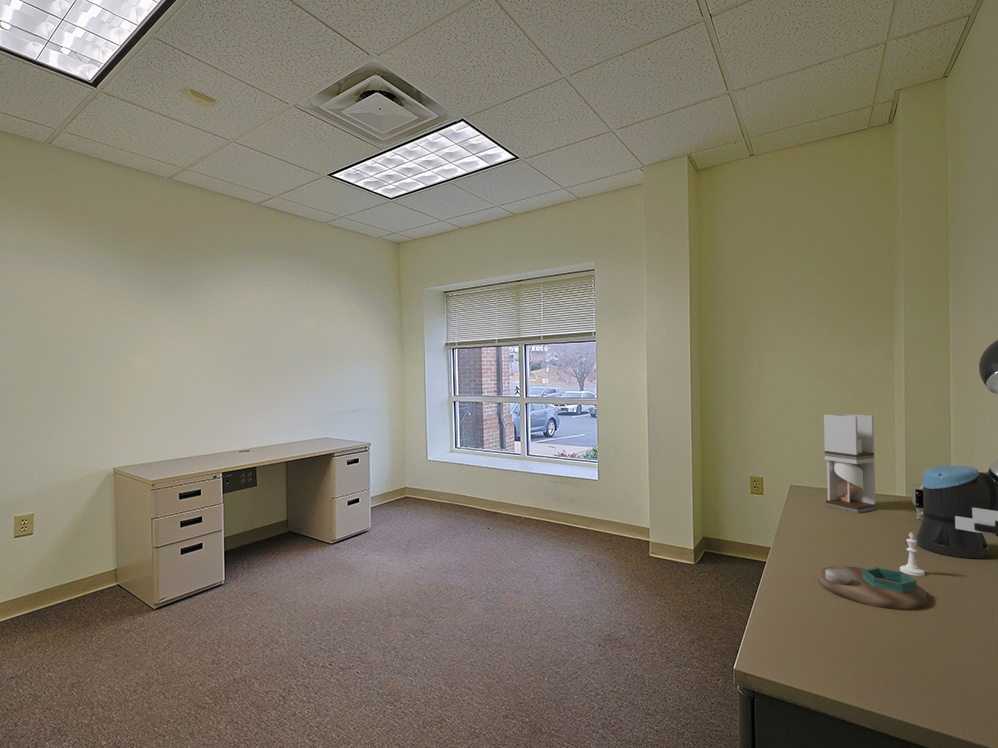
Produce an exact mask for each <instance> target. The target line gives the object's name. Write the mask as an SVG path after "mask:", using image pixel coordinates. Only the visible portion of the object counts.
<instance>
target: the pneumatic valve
mask: <svg viewBox="0 0 998 748" xmlns="http://www.w3.org/2000/svg"><path fill="white" fill-rule="evenodd" d="M911 502H912V503H913V505H914V507H915V510H916V515H915V517H916V519H917V520H918V519H920V520H922V521H923V519H924V505H923V486H922V483H921V484H919V485H918V484H911ZM920 520H919V521H920Z"/></svg>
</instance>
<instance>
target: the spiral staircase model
mask: <svg viewBox="0 0 998 748" xmlns="http://www.w3.org/2000/svg"><path fill="white" fill-rule="evenodd" d="M874 427H875V425H874V415H868V414H855V413H852V414H851V413H848V414H847V413H831V414H824V415H823V432H824V433H823V436H824V442H823V443H824V444H823V445H824V460H825V461H826V483H827V485H826V487H827V499H826V500H825V506H826V505H827V506H826V507H829V506H831V507H830V508H833V507H835V508H834V509H838V508H839V509H838V510H842V509H843V510H842V511H846V510H848V511H847V512H851V511H852V512H851V513H855V512H856V513H857V514H859V513H865V512H870V511H875V510H876V478H875V475H876V473H875V472H876V470H875V466H876V465H875V430H874V429H875V428H874ZM856 513H855V514H856Z"/></svg>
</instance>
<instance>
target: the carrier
mask: <svg viewBox="0 0 998 748" xmlns="http://www.w3.org/2000/svg"><path fill="white" fill-rule="evenodd" d="M817 575H818V576H817V579H818V583H819V585H820V584H821V585H822V586H823V587H822V586H821V585H820V586H821V587H822V588H824V589H827V591H828V592H830V593H831V594H833V595H836V596H838V595H839V596H838V597H840V596H841V598H843V599H845V598H846V600H849V601H852V602H855V603H857V604H858V603H859V604H862V605H865V606H870V607H876V608H881V609H882V608H883V609H890V610H903V611H904V610H916V609H920V608H923V607H925V606H926V605H927V602H928V599H927V598H928V597H927V596H928V595H927V592H926V591H925V589H923V588H922V587H921V586H919V585H918V584H917V580H915V579H914V578H913V577H912V576H910V575H909V574H906V573H904V572H902V571H898V570H892V569H889V568H888V569H886V568H883V567H882V568H881V567H878V566H877V567H871V568H864V567H858V566H857V567H856V566H845V565H844V566H842V565H841V566H840V565H839V566H838V565H837V566H828V567H824V568H822V569H820V570H819V571H818V573H817Z"/></svg>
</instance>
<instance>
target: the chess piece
mask: <svg viewBox="0 0 998 748" xmlns="http://www.w3.org/2000/svg"><path fill="white" fill-rule="evenodd" d="M908 536H909V538H906V542H907V545H908V547H907V548H906V550H907V551H908V559H907V563H906V564H904V565H901V566H900V567H899V572H903V573H905V574H906V575H909V576H910V575H911V576H915V577H916V576H917V577H923V576H926V572H925V570H924V569H922V568H921V567H919V566H918V565H917V562H916V555H915V552H918V549H917V548H915V547H916V545H917V541H916V539H915V536H914V532H912V531H911V532H909V534H908Z"/></svg>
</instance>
